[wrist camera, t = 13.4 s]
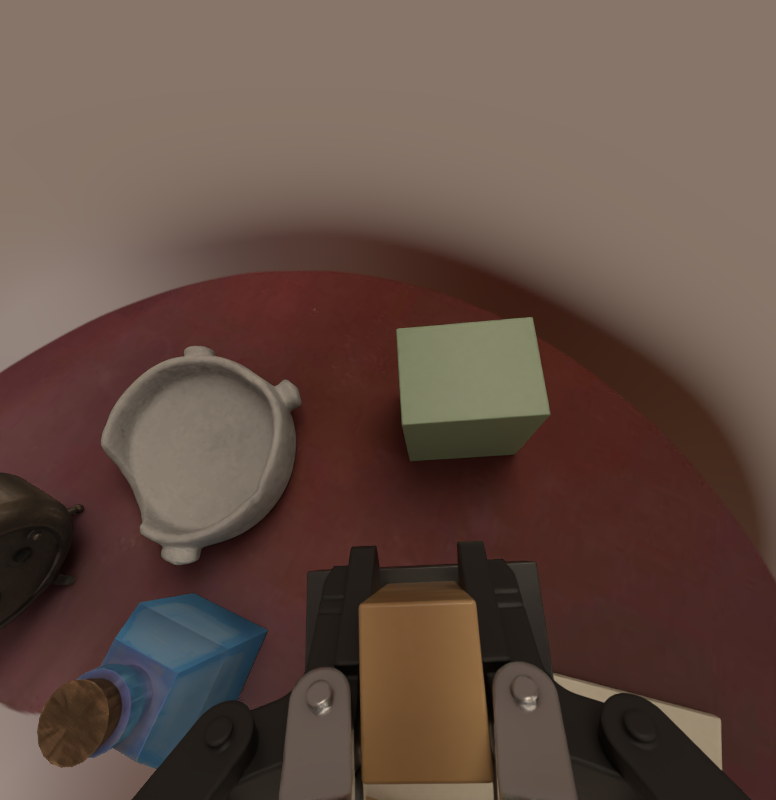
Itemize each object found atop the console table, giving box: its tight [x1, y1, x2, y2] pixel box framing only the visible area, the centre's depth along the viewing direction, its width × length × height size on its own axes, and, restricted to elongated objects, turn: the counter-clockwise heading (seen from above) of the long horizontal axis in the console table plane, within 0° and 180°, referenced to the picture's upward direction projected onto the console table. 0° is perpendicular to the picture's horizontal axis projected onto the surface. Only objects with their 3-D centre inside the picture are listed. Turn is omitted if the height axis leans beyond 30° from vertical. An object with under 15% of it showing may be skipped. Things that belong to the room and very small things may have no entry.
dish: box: [101, 346, 301, 565], centre depth 32 cm, size 14×14×5 cm
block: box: [396, 317, 550, 461], centre depth 29 cm, size 8×6×10 cm
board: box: [365, 673, 722, 800], centre depth 25 cm, size 24×10×2 cm, turn 78°
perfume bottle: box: [37, 593, 268, 769], centre depth 24 cm, size 6×6×12 cm
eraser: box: [305, 561, 554, 785], centre depth 12 cm, size 8×4×8 cm, turn 92°
